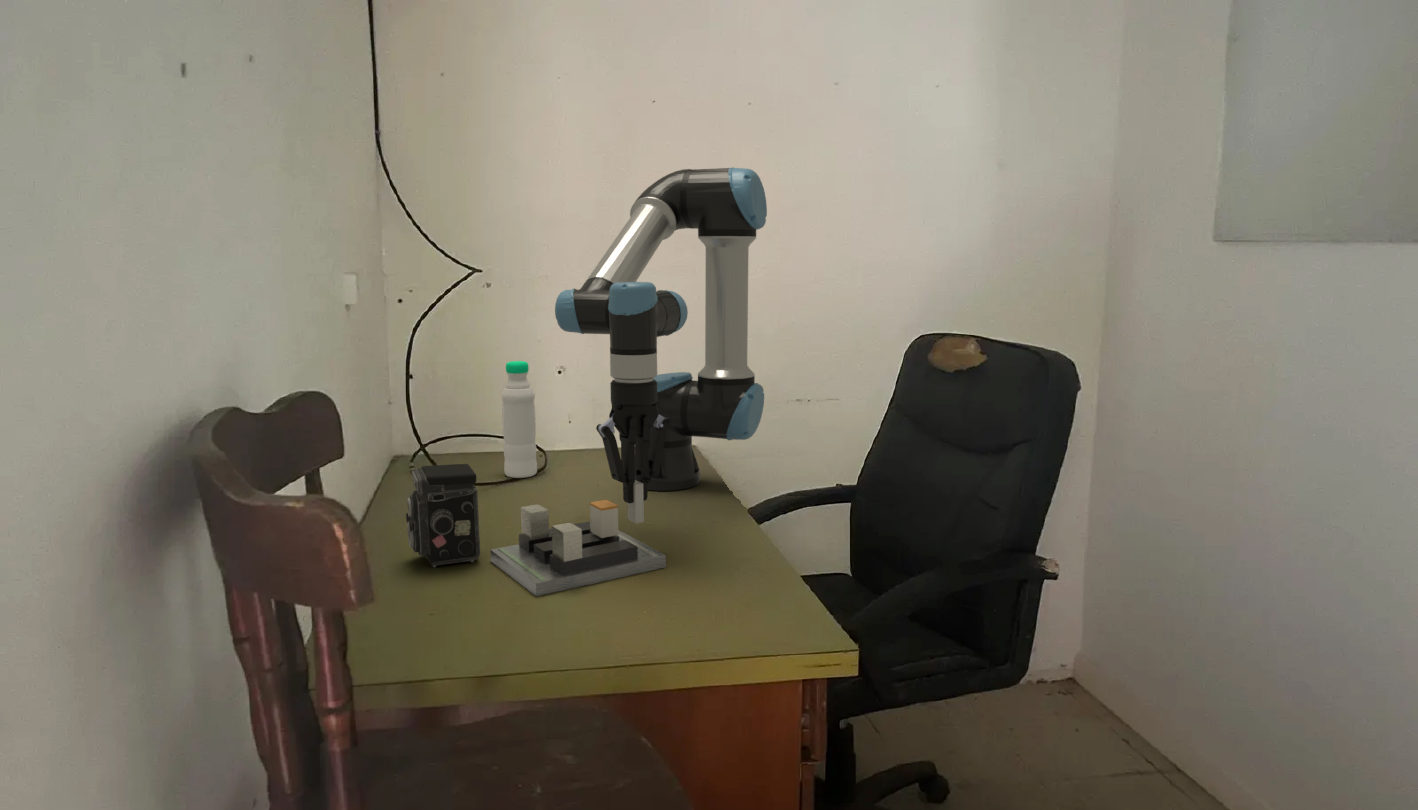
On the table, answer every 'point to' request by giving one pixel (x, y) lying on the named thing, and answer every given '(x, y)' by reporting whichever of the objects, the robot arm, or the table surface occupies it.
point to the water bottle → (519, 422)
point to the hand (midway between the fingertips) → (635, 520)
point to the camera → (444, 514)
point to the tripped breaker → (604, 518)
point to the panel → (573, 577)
